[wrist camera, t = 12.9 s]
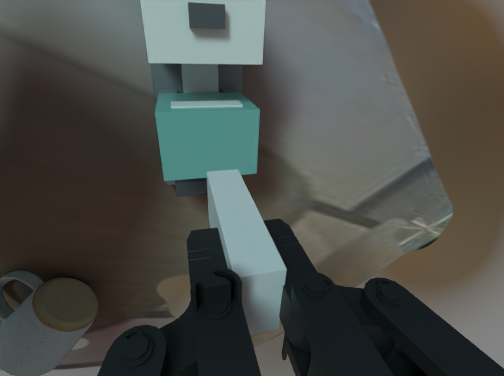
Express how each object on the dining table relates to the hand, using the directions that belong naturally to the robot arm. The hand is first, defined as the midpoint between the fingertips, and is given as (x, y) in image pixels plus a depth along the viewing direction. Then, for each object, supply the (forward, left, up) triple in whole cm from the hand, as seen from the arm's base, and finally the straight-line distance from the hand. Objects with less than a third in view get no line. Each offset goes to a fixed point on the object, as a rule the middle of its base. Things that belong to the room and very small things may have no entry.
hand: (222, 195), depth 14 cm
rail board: (0, +2, -17) cm, 17 cm away
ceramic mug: (-19, -22, -17) cm, 34 cm away
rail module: (0, 0, -15) cm, 15 cm away
